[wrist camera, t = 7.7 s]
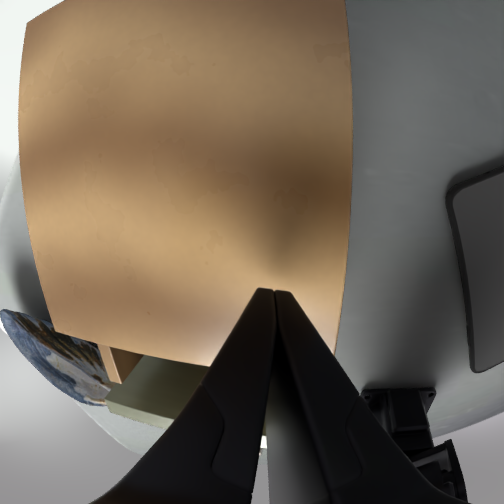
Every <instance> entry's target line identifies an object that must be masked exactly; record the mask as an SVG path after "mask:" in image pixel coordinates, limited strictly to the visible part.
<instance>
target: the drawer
mask: <svg viewBox="0 0 504 504" xmlns="http://www.w3.org/2000/svg"><path fill="white" fill-rule="evenodd" d="M97 345H98V348H99V351H100V354H101V357H102V360H103V362H104V365H105V368H106V371H107V374H108V376H109V379H110V381H113V382H116V384H115V385H114V387H113V388H112V389H111V390H110V392H109V393H108V394H107V395H106V397H105V398H104V400H105V402H106V404H107V406H108V409H109V411H110V412H111V413H114V414H117V415H120V416H123V417H126V418H129V419H132V420H135V421H138V422H142V423H145V424H148V425H152V426H155V427H159V428H163V429H166V430H167V429H168V427H169V426H170V425H171V424H172V422H173V421H174V420H175V419H176V417H177V416H178V415H179V413H180V412H181V410H182V409H183V408H184V406H185V405H186V403H187V402H188V400H189V399H190V397H191V396H192V394H193V392H194V391H195V389H196V388H197V386H198V385H199V384H200V382H201V380H202V378H203V377H204V375H205V373H206V372H207V370H208V369H209V366H203V365H197V364H191V363H185V362H179V361H174V360H169V359H164V358H158V357H154V356H149V355H144V354H139V353H135V352H131V351H126V350H122V349H118V348H114V347H110V346H106V345H102V344H98V343H97ZM263 448H266V449H267V441H266V422H265V421H264V427H263V434H262V440H261V447H260V453H259V456H261V455H262V452H263Z"/></svg>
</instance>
